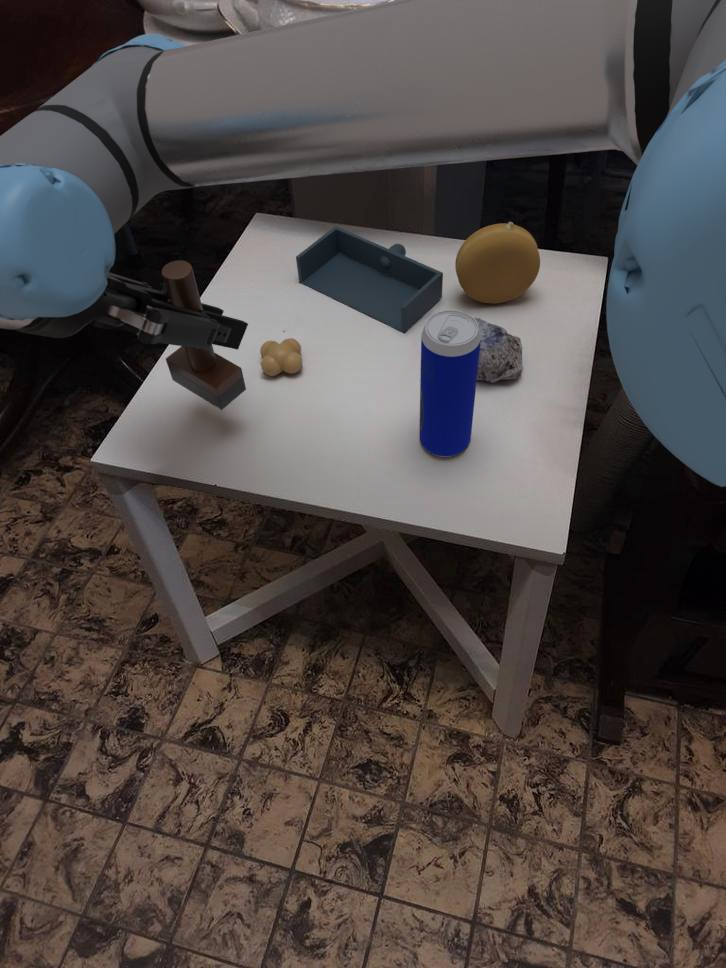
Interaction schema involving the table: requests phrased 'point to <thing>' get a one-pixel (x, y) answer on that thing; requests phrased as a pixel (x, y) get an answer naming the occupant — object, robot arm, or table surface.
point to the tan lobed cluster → (281, 357)
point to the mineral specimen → (498, 353)
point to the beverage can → (448, 381)
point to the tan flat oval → (497, 263)
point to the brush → (200, 367)
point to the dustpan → (370, 278)
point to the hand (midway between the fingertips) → (227, 328)
